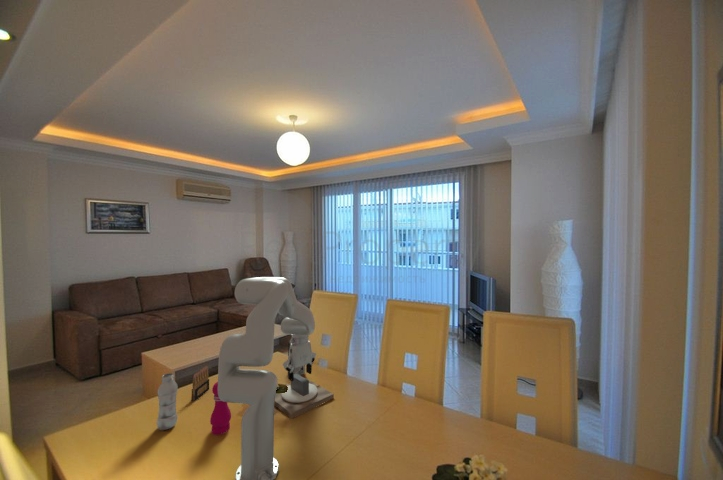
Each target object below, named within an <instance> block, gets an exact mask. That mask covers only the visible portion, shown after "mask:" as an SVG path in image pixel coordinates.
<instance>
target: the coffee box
mask: <svg viewBox="0 0 723 480" xmlns="http://www.w3.org/2000/svg"><path fill="white" fill-rule="evenodd" d="M287 344H288V347H287V354H288V357H287V360H288V359H289V350H290V345H291V343H290V341H287ZM287 366H288V367H289V364H288V365H287ZM291 368H292V367H291ZM292 372H293V373H294V374H296V373H297V374H298V375H300V376H302V375H305V374H306V365H303V366H300V367H298V368H294V370H293V371H292Z"/></svg>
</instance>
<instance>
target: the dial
mask: <svg viewBox="0 0 723 480" xmlns="http://www.w3.org/2000/svg"><path fill="white" fill-rule="evenodd" d="M305 378H306V377H304V376H302V375H298V374H297V373H296V374H294V380H293V381H290V384H291V385H289V384H288V385H289V386H287V387H288V390H287V392H285V393H282V398H283V399H284V400H285V401H288V402H292V403H300V402H306V401H309V400H311V399H313V398H314V397H315V396H316V395H317V387H316V386H315V385H313V384H310V383H309V380H310V379H308V378H306V379H305ZM307 379H308V380H307Z"/></svg>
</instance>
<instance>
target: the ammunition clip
mask: <svg viewBox="0 0 723 480" xmlns="http://www.w3.org/2000/svg"><path fill="white" fill-rule="evenodd" d="M209 390H210V378H209V367H208V365H205V366H203V368H201V369H199V370H198V371H197V372H196V373H194V374H193V378H192V389H191V398H190V399H191V400H190V401H191V402H196V401H197V400H198V399H199V398H201V397H202V396H203V395H204V394H206V393H207V392H208V391H209Z"/></svg>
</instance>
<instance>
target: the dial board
mask: <svg viewBox="0 0 723 480" xmlns="http://www.w3.org/2000/svg"><path fill="white" fill-rule="evenodd" d="M304 378H305V379H307V380H309V383H310V384H313V385H315V386H316V387H317V395H316V396H315V397H314V398H313V399H311V400H309V401H306V402H300V403H292V402H288V401H285V400H284V399H283V398H282V393H280V394H276V396H275V403H274V407H275V408H278V409H279V410H280V411H282V413H284V414H285V415H287V416H288V417H289V418H290V419H294V418H297V417H298V416H301V415H302V414H304V413H307V412H309V411H311V410H313V409H314V408H317V407H319V406H321V405H323V404H325V403H326V401H327V402H329V401H331V400H333V399H334V393H333V392H330V391H329V390H327V389H326V388H324V387H322V386H320V384H317V383H315V382H313V381H311V380H310V379H308V378H306V377H304ZM289 385H291V383H289V384H285V386H289ZM332 398H333V399H332ZM330 399H331V400H330ZM328 400H329V401H328ZM324 402H325V403H324ZM322 403H323V404H322ZM320 404H321V405H320ZM318 405H319V406H318ZM316 406H317V407H316Z"/></svg>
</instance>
